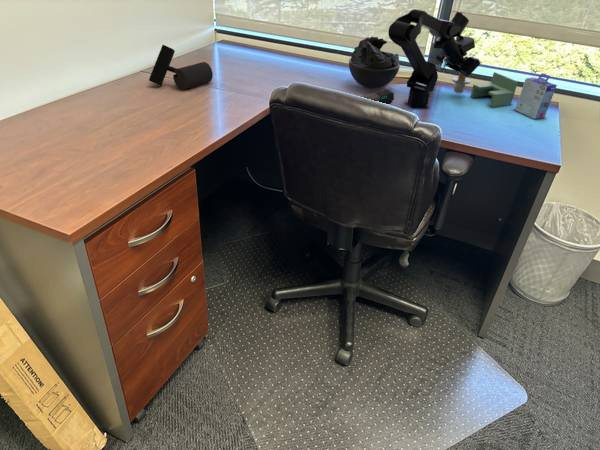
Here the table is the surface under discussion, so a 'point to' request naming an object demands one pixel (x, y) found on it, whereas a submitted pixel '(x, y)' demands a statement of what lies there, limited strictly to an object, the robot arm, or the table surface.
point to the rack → (496, 90)
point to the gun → (382, 96)
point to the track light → (180, 71)
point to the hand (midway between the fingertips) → (465, 74)
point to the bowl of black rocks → (373, 64)
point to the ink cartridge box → (535, 97)
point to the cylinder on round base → (460, 83)
